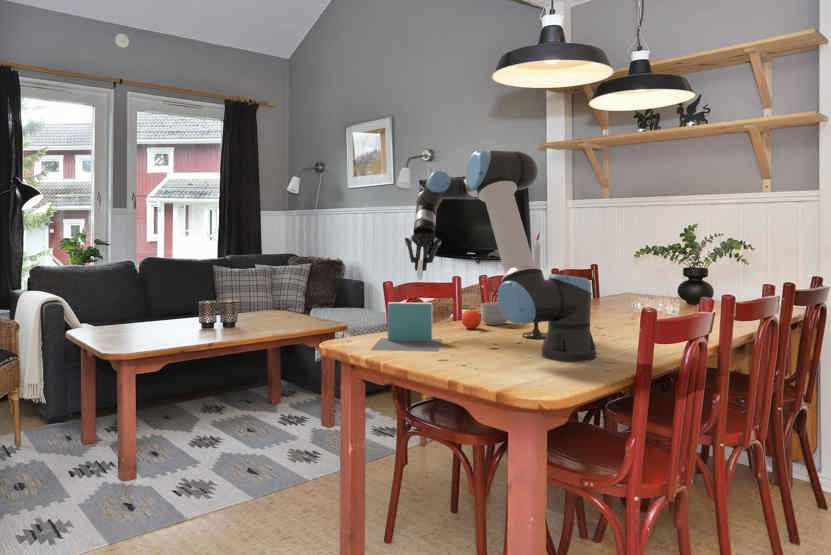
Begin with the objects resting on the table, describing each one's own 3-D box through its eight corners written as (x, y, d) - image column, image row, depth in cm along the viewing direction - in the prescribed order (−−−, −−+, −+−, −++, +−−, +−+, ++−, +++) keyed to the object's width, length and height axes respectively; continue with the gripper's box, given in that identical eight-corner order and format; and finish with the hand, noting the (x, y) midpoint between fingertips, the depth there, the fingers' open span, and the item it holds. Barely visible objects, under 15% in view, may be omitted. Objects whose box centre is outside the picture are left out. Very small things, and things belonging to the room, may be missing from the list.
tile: (389, 339, 211) (388, 302, 210) (432, 340, 210) (432, 302, 209) (387, 340, 209) (387, 303, 207) (431, 341, 207) (431, 303, 206)
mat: (380, 339, 214) (380, 337, 214) (442, 340, 212) (442, 338, 212) (370, 351, 194) (370, 349, 194) (437, 353, 192) (437, 351, 192)
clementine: (457, 330, 233) (457, 310, 232) (460, 326, 239) (460, 307, 239) (479, 330, 231) (479, 310, 230) (482, 327, 237) (482, 308, 237)
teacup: (485, 326, 239) (485, 305, 239) (476, 322, 250) (476, 301, 249) (521, 325, 242) (521, 304, 241) (511, 321, 253) (511, 300, 252)
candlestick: (550, 334, 223) (552, 231, 220) (554, 340, 213) (556, 231, 210) (518, 333, 224) (519, 231, 221) (520, 339, 214) (521, 231, 211)
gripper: (443, 233, 236) (439, 284, 221) (407, 233, 237) (401, 283, 222) (442, 218, 230) (438, 270, 215) (405, 218, 231) (399, 269, 216)
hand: (419, 277), depth 219 cm, fingers closed
